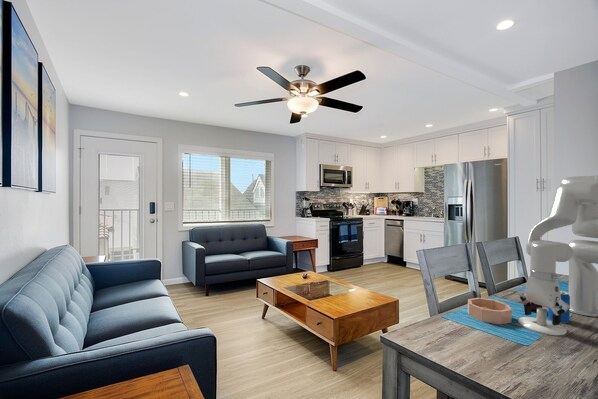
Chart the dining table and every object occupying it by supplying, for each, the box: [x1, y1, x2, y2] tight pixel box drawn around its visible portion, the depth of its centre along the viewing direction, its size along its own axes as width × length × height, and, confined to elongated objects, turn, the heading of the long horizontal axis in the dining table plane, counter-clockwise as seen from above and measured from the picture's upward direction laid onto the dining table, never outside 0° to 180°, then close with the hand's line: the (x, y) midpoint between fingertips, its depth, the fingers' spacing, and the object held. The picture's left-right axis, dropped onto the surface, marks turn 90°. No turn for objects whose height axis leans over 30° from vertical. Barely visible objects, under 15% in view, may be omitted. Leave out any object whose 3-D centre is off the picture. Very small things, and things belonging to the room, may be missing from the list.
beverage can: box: [547, 289, 570, 324], centre depth 121 cm, size 6×6×12 cm
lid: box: [517, 307, 568, 336], centre depth 114 cm, size 14×14×7 cm
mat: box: [513, 322, 571, 337], centre depth 115 cm, size 15×11×1 cm
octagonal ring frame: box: [467, 297, 513, 325], centre depth 124 cm, size 15×15×6 cm
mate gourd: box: [522, 274, 543, 312], centre depth 132 cm, size 8×8×15 cm
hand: (541, 319), depth 114 cm, fingers open, 9 cm apart
